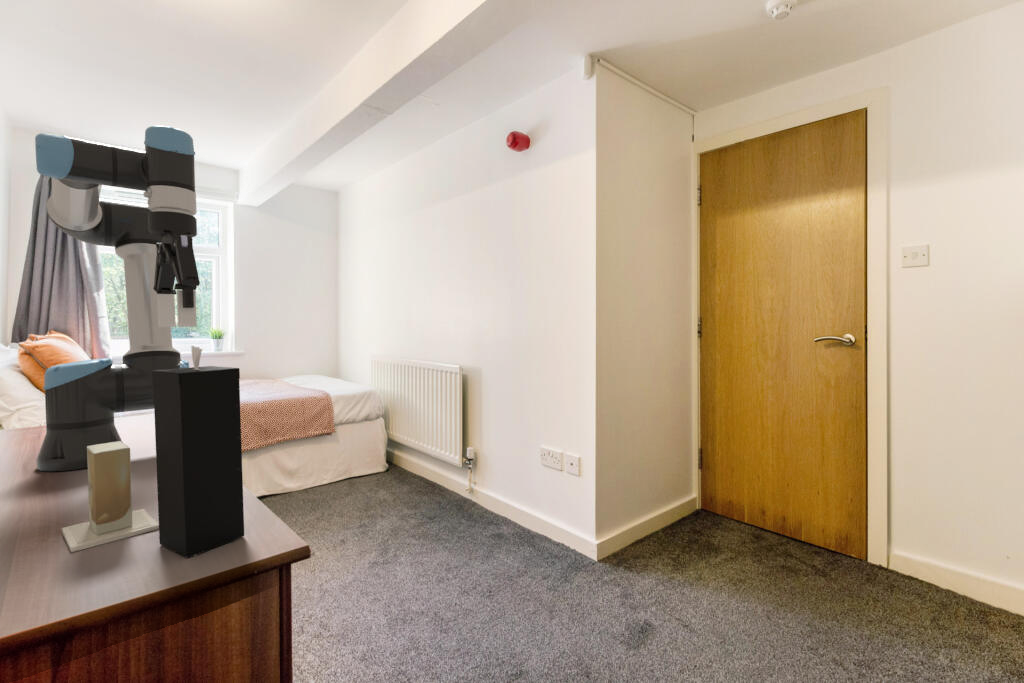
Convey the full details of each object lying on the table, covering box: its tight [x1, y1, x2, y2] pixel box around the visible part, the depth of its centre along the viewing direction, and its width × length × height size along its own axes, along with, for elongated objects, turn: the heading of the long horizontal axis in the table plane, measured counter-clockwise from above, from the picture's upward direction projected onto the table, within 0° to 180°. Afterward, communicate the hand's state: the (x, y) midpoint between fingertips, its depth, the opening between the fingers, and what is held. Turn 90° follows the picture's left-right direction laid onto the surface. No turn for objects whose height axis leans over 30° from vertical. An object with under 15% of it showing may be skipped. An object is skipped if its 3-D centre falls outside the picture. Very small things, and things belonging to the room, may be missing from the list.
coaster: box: [61, 508, 159, 553], centre depth 73 cm, size 10×10×1 cm
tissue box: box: [152, 345, 245, 559], centre depth 69 cm, size 8×8×28 cm
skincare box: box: [87, 440, 133, 535], centre depth 73 cm, size 6×4×12 cm
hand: (176, 327), depth 92 cm, fingers open, 13 cm apart
